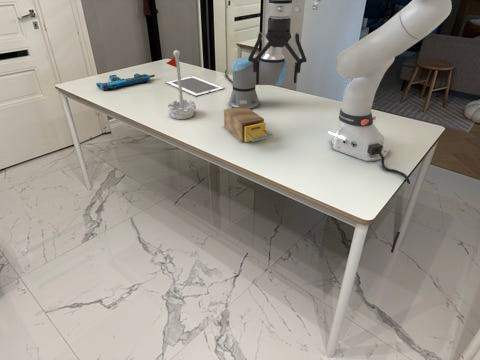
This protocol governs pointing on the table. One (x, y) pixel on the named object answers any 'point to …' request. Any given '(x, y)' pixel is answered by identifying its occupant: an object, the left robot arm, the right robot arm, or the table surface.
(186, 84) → the tablet
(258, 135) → the drawer
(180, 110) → the flag stand
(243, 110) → the wooden drawer cabinet
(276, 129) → the table surface
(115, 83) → the submachine gun
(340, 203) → the table surface
